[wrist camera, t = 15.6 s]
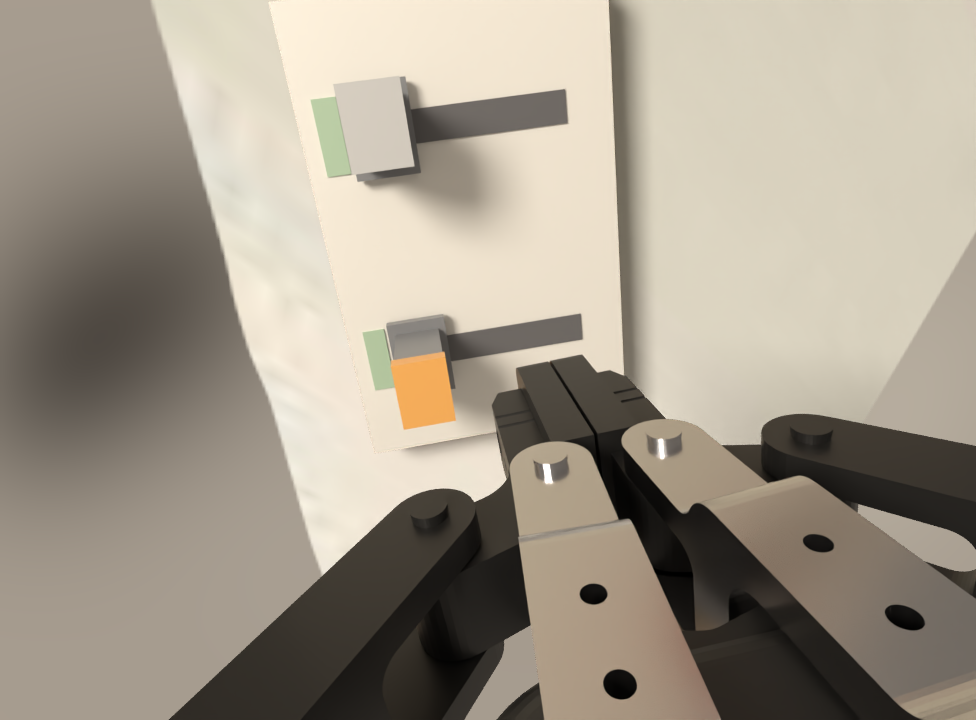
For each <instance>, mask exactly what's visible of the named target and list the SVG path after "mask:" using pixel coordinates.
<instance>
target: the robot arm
mask: <svg viewBox="0 0 976 720" xmlns="http://www.w3.org/2000/svg"><path fill="white" fill-rule="evenodd" d="M516 377H517V384H518V389H515V390H510V391H506V392H501V393H498V394H497V396H496V398H495V399H494V401H493V403H492V410H493V416H494V421H495V426H496V432H497V437H498V443H499V448H500V453H501V459H502V464H503V468H504V471H505V475H506V478H507V480H506V481H505V483H504V484H503V485H502V486H501V487H500V488H499V489H498V490H496V491H495V492H494V493H492V494H491V495H489V496H487V497H485V498H483V499H481V500H479V501H476V502H474V501H473V500H472V499H471V497H470V496H468V495H467V494H465V493H463V492H461V491H458V490H454V489H434V490H428V491H425V492H421V493H419V494H416V495H414V496H412V497H410V498H408V499H406V500H405V501H403V502H401V503H400V504H399V505H398V506H397V507H395V508H394V509H393V510H392V511H391V512H390V513H389V514H388V515H387V516H386V517H385V518H384V519H383V520H382V521H380V522H379V523H378V524H377V525H376V526H375V527H374V528H373V529H372V530H371V531H370V532H369V533H368V534H367V535H366V536H364V537H363V538H362V539H361V540H360V541H359V542H358V543H357V544H356V545H355V546H354V547H353V548H352V549H351V550H350V551H348V552H347V553H346V554H345V555H344V556H343V557H342V558H341V559H340V560H339V561H338V562H337V563H336V564H335V565H334V566H332V567H331V568H330V569H329V570H328V571H327V572H326V573H325V574H324V575H323V576H322V577H321V578H320V579H319V580H318V581H317V582H315V583H314V584H313V585H312V586H311V587H310V588H309V589H308V590H307V591H306V592H305V593H304V594H303V595H301V597H299V598H298V599H297V600H296V601H295V602H294V603H293V604H292V605H291V606H290V607H289V608H288V609H287V610H285V611H284V612H283V613H282V614H281V615H280V616H279V617H278V618H277V619H276V620H275V621H274V622H273V623H272V624H270V625H269V626H268V627H267V628H266V629H265V630H264V631H263V632H262V633H261V634H260V635H259V636H258V637H257V638H256V639H254V640H253V641H252V642H251V643H250V644H249V645H248V646H247V647H246V648H245V649H244V650H243V651H242V652H241V653H240V654H238V655H237V656H236V657H235V658H234V659H233V660H232V661H231V662H230V663H229V664H228V665H227V666H226V667H225V668H224V669H222V670H221V671H220V672H219V673H218V674H217V675H216V676H215V677H214V678H213V679H212V680H211V681H210V682H209V683H208V684H206V685H205V686H204V687H203V688H202V689H201V690H200V691H199V692H198V693H197V694H196V695H195V696H194V697H193V698H191V699H190V700H189V701H188V702H187V703H186V704H185V705H184V706H183V707H182V708H181V709H180V710H179V711H178V712H177V713H175V715H173V716H172V717H171V718H170V719H169V720H464V719H465V717H466V715H467V714H468V712H469V711H470V709H471V707H472V706H473V704H474V703H475V701H476V699H477V698H478V696H479V695H480V693H481V691H482V690H483V687H484V686H485V685H486V683H487V681H488V680H489V678H490V677H491V675H492V673H493V672H494V670H495V668H496V667H497V665H498V663H499V662H500V660H501V658H502V654H503V651H504V640H505V639H507V638H509V637H510V636H512V635H514V634H516V633H518V632H519V631H521V630H523V629H525V628H526V627H528V626H530V625H531V630H532V636H533V643H534V651H535V658H536V665H537V672H538V679H539V683H538V684H536V685H535V686H533V687H532V688H530V689H529V690H527V691H526V692H525V693H523V694H522V695H521V696H520V697H518V698H517V699H516V700H515V701H514V702H513V703H512V704H511V705H509V706H508V708H507V709H506V710H505V711H504V712H503V713H502V714H501V715H500V716H499V718H498V719H497V720H976V569H975V570H972V571H968V572H959V571H953V570H949V569H946V568H943V567H940V566H937V565H934V564H931V563H928V562H925V561H923V560H922V559H920V558H919V557H918V556H916V555H915V554H913V553H912V552H911V551H909V550H908V549H907V548H905V547H904V546H902V545H901V544H899V543H898V542H897V541H896V540H894V539H893V538H891V537H890V536H889V535H887V534H886V533H885V532H883V531H882V530H880V529H879V528H878V527H876V526H875V525H874V524H872V523H871V522H869V521H868V520H867V519H865V518H864V517H862V516H861V515H860V514H858V513H857V512H858V504H860V505H864V506H867V507H871V508H874V509H878V510H881V511H885V512H888V513H892V514H896V515H899V516H902V517H906V518H909V519H913V520H916V521H920V522H923V523H927V524H930V525H934V526H937V527H941V528H944V529H948V530H950V531H953V532H955V533H957V534H959V535H961V536H962V537H964V538H965V539H967V540H968V541H969V542H970V543H971V544H972V545H973V546H974V548H975V549H976V446H973V445H968V444H963V443H958V442H953V441H948V440H943V439H937V438H933V437H927V436H922V435H917V434H912V433H907V432H902V431H897V430H892V429H887V428H882V427H877V426H872V425H867V424H862V423H857V422H852V421H847V420H842V419H837V418H831V417H826V416H821V415H812V414H793V415H786V416H781V417H778V418H775V419H772V420H771V421H769V422H767V423H766V424H765V425H764V426H763V428H762V432H761V445H720V444H719V443H718V442H717V441H715V440H714V439H713V438H712V437H711V436H709V435H708V434H707V433H706V432H704V431H703V430H702V429H701V428H699V427H698V426H696V425H693V424H691V423H688V422H685V421H680V420H673V419H666V418H665V417H664V416H663V415H662V414H661V413H660V412H659V411H658V410H657V409H656V408H655V407H654V405H653V404H652V403H651V402H650V401H649V400H648V399H647V398H645V397H644V395H643V394H642V393H641V392H640V390H639V389H637V387H636V386H635V385H634V384H633V383H632V382H631V381H630V380H629V379H628V378H627V377H626V376H623V375H621V374H618V373H616V372H613V371H611V370H607V371H602V372H598V373H597V372H596V371H595V369H594V368H593V367H592V366H591V364H590V363H589V362H588V361H587V359H586V358H585V357H584V356H583V355H582V354H581V355H576V356H571V357H566V358H561V359H556V360H551V361H550V362H548V361H547V362H542V363H537V364H532V365H527V366H522V367H517V368H516Z"/></svg>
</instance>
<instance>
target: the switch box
mask: <svg viewBox="0 0 976 720" xmlns="http://www.w3.org/2000/svg"><path fill="white" fill-rule="evenodd" d="M269 7H270V11H271V15H272V19H273V24H274V28H275V32H276V36H277V41H278V45H279V49H280V53H281V58H282V62H283V66H284V70H285V75H286V79H287V83H288V87H289V92H290V96H291V100H292V105H293V109H294V113H295V117H296V122H297V126H298V130H299V134H300V139H301V143H302V147H303V151H304V156H305V160H306V164H307V168H308V173H309V177H310V181H311V185H312V190H313V194H314V198H315V203H316V207H317V211H318V215H319V220H320V224H321V228H322V232H323V237H324V241H325V245H326V249H327V254H328V258H329V262H330V266H331V271H332V275H333V279H334V283H335V288H336V292H337V296H338V300H339V305H340V309H341V313H342V318H343V322H344V326H345V330H346V335H347V339H348V343H349V347H350V352H351V356H352V360H353V364H354V369H355V373H356V377H357V381H358V386H359V390H360V394H361V398H362V403H363V407H364V411H365V416H366V420H367V424H368V428H369V433H370V437H371V441H372V445H373V450H374V454H376V453H382V452H387V451H393V450H399V449H404V448H410V447H415V446H421V445H426V444H432V443H438V442H443V441H449V440H454V439H460V438H465V437H471V436H477V435H482V434H488V433H493V432H496V426H495V421H494V416H493V410H492V403H493V401H494V399H495V398H496V396H497V394H498V393H501V392H506V391H510V390H515V389H518V384H517V377H516V368H517V367H522V366H527V365H532V364H537V363H542V362H547V361H548V362H550V361H551V360H556V359H561V358H566V357H571V356H576V355H581V354H582V355H583V356H584V357H585V358H586V359H587V361H588V362H589V363H590V364H591V366H592V367H593V368H594V369H595V371H596V372H597V373H598V372H602V371H607V370H611V371H613V372H616V373H618V374H621V375H623V376H624V362H623V338H622V314H621V289H620V265H619V241H618V216H617V192H616V168H615V143H614V119H613V94H612V70H611V46H610V21H609V0H281V1H272V2H269ZM394 76H400V77H403V76H405V77H406V83H407V89H408V95H409V102H410V108H411V114H412V120H413V126H414V132H415V138H416V144H417V150H418V157H419V163H420V169H421V173H418V174H411V175H404V176H397V177H390V178H383V179H376V180H369V181H361V182H357V177H356V175H352V173H351V168H350V163H349V158H348V154H347V149H346V144H345V139H344V134H343V129H342V125H341V120H340V115H339V110H338V105H337V101H336V96H335V91H334V86H333V84H339V83H346V82H354V81H362V80H370V79H378V78H386V77H394ZM439 314H443V315H444V321H445V327H446V333H447V339H448V345H449V351H450V358H451V364H452V370H453V376H454V382H455V388H456V389H451V394H452V400H453V406H454V412H455V418H456V421H451V422H446V423H440V424H434V425H429V426H423V427H417V428H412V429H406V430H404V428H403V424H402V419H401V414H400V409H399V404H398V400H397V395H396V390H395V385H394V380H393V376H392V371H391V360H393V357H392V352H391V347H390V342H389V338H388V333H387V328H386V323H389V322H396V321H402V320H408V319H414V318H420V317H426V316H433V315H439Z"/></svg>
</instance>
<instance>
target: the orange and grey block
mask: <svg viewBox="0 0 976 720" xmlns="http://www.w3.org/2000/svg"><path fill="white" fill-rule="evenodd" d="M386 328H387V333H388V338H389V342H390V347H391V352H392V357H393V360H391V371H392V376H393V380H394V385H395V390H396V395H397V400H398V404H399V409H400V414H401V419H402V424H403V428H404V430H406V429H412V428H417V427H423V426H429V425H434V424H440V423H446V422H451V421H456V418H455V412H454V406H453V400H452V394H451V389H456V388H455V382H454V376H453V370H452V364H451V358H450V351H449V345H448V339H447V333H446V327H445V321H444V315H443V314H439V315H433V316H426V317H420V318H414V319H408V320H402V321H396V322H389V323H386Z"/></svg>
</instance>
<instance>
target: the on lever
mask: <svg viewBox="0 0 976 720" xmlns="http://www.w3.org/2000/svg"><path fill="white" fill-rule="evenodd" d="M333 86H334V91H335V96H336V101H337V105H338V110H339V115H340V120H341V125H342V129H343V134H344V139H345V144H346V149H347V154H348V158H349V163H350V168H351V173H352V175H356V177H357V182H361V181H369V180H376V179H383V178H390V177H397V176H404V175H411V174H418V173H421V169H420V163H419V157H418V150H417V144H416V138H415V132H414V126H413V120H412V114H411V108H410V102H409V95H408V89H407V83H406V77H405V76H403V77H400V76H394V77H386V78H378V79H370V80H362V81H354V82H346V83H339V84H333Z"/></svg>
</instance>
